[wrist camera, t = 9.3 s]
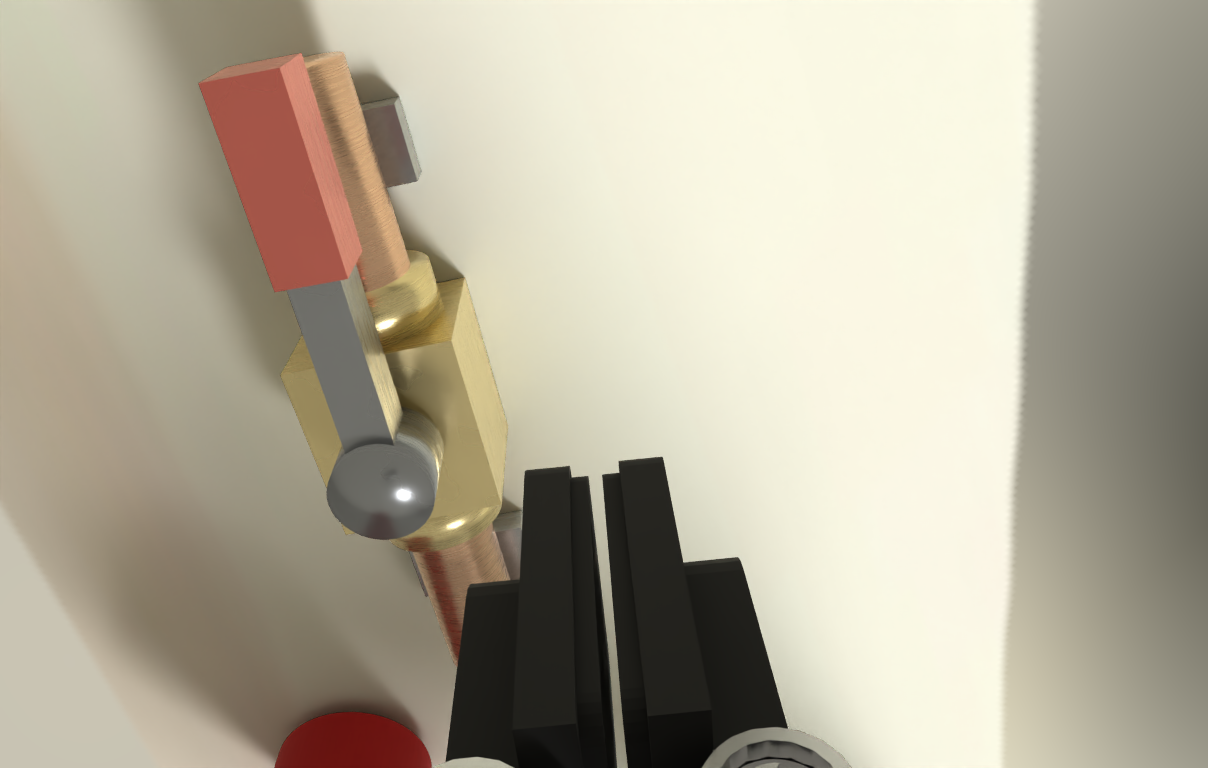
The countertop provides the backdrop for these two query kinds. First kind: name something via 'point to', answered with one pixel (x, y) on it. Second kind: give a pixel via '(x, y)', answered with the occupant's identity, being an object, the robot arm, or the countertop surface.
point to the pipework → (415, 358)
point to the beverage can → (352, 744)
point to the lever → (325, 291)
